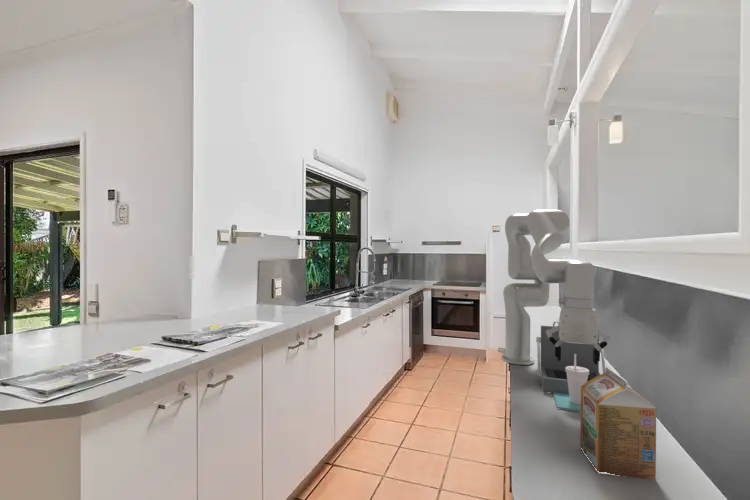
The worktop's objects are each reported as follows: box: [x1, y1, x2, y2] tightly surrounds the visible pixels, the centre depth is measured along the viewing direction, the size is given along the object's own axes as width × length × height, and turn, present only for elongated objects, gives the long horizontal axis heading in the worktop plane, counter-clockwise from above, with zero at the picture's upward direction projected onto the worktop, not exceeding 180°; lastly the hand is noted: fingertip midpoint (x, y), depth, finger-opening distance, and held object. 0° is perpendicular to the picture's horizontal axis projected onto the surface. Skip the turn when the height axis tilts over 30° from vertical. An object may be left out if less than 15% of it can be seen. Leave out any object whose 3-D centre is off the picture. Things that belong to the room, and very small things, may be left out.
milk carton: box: [579, 366, 657, 481], centre depth 85 cm, size 11×11×19 cm
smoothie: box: [565, 354, 590, 404], centre depth 117 cm, size 6×6×14 cm
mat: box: [553, 393, 581, 413], centre depth 117 cm, size 12×12×1 cm
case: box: [536, 325, 606, 394], centre depth 131 cm, size 21×15×18 cm
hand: (576, 361), depth 118 cm, fingers open, 9 cm apart
